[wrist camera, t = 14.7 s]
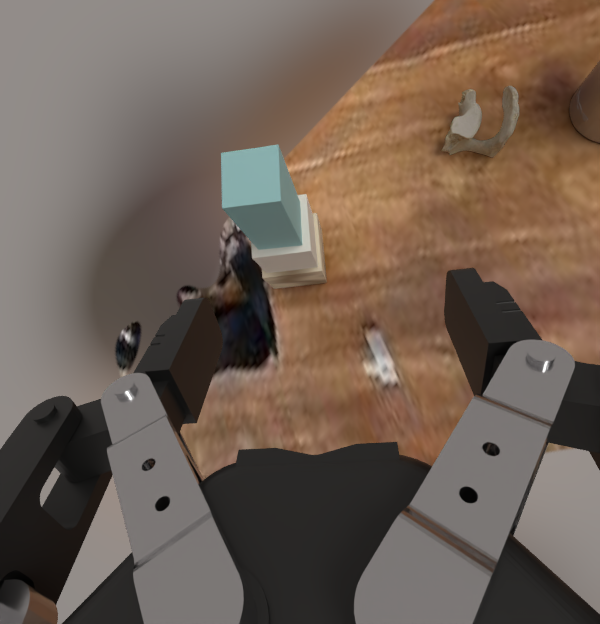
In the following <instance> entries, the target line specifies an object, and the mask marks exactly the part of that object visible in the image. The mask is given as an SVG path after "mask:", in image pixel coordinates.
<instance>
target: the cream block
mask: <svg viewBox="0 0 600 624" xmlns="http://www.w3.org/2000/svg"><path fill="white" fill-rule="evenodd" d="M298 198H299V201H300V208H301V227H302V245H300V246H290V247H280V248H271V249H261V250H258V249H257V248H256V246H255V245H254V244H253V243H252V242H251V247H252V259H253V260H254V261H255V262H256V263H257V264H258V265H259V266H260V267H261V268H262V269H263V270H264V271H265V272H266V273H274V272H282V271H291V270H299V269H308V268H316V267H318V261H317V249H316V238H315V226H314V217H313V214H312V211H311V207H310V204H309V201H308V198H307V195H306V194H304V195H298Z"/></svg>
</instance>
